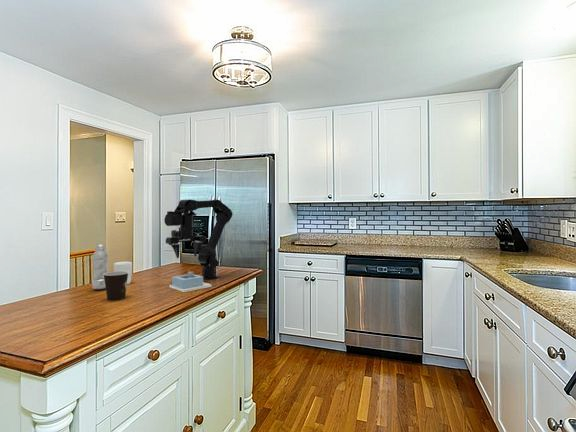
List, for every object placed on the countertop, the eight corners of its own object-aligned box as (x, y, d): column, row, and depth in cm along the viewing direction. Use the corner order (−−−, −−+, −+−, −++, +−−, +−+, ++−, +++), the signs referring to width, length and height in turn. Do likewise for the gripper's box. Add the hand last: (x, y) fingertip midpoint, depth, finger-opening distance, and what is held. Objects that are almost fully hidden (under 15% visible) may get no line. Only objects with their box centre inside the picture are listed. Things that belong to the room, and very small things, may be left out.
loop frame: (192, 282, 151) (192, 273, 151) (203, 285, 144) (203, 276, 144) (172, 285, 144) (172, 276, 144) (182, 289, 137) (182, 280, 137)
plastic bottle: (112, 287, 144) (112, 243, 144) (102, 291, 137) (102, 245, 137) (99, 287, 145) (99, 243, 144) (88, 290, 138) (88, 245, 138)
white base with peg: (196, 282, 155) (196, 268, 155) (211, 286, 146) (211, 271, 146) (169, 287, 145) (169, 272, 145) (183, 292, 136) (183, 276, 136)
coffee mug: (117, 301, 121) (117, 276, 121) (98, 300, 123) (98, 275, 123) (137, 294, 133) (137, 270, 133) (120, 293, 134) (119, 269, 134)
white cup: (126, 285, 148) (126, 264, 148) (110, 285, 149) (110, 264, 148) (135, 281, 156) (135, 261, 156) (119, 281, 156) (119, 261, 156)
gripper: (195, 224, 166) (195, 253, 166) (160, 225, 152) (160, 257, 152) (206, 224, 158) (206, 256, 158) (171, 226, 145) (171, 260, 145)
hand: (186, 257), depth 154 cm, fingers open, 9 cm apart
